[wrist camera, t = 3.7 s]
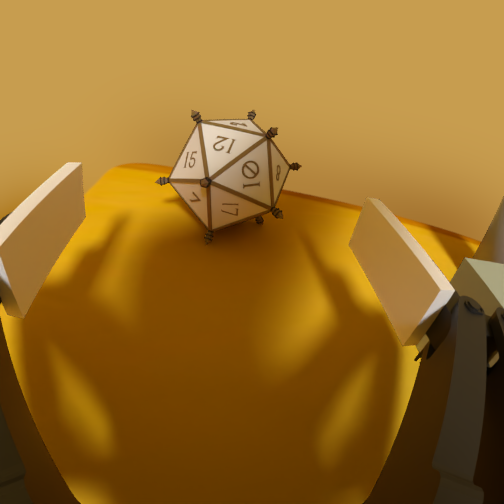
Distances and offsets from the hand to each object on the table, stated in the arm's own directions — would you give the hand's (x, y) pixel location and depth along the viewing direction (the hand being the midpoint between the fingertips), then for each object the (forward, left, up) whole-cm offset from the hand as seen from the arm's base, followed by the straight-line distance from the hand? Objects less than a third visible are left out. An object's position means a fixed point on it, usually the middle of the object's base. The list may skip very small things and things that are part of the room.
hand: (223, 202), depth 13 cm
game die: (+7, -1, -5) cm, 9 cm away
